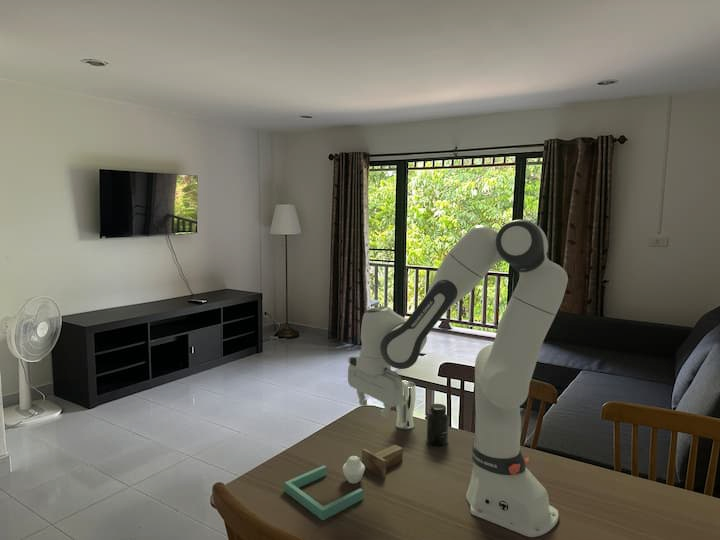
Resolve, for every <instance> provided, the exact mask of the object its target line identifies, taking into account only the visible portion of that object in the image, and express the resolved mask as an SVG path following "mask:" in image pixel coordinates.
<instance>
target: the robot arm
mask: <svg viewBox="0 0 720 540" xmlns="http://www.w3.org/2000/svg"><path fill="white" fill-rule="evenodd" d="M549 253H550V241H549V238H548V236H547V235H546V234H545V232H544V230H543V229H542V228H541V227H540V226H538V225H537V224H535V223H533V222H531V221H529V220H527V219H515V220H511V221H509V222H506V223H505V224H503V226H502V227H501V228H500V229H499V230H498V231H496V230H495V229H493V228H491V227H490V226H488V225H482V224H478V225H475V226H472V227H471V228H470V229H469V230H468V231H466V233H464V234H463V236H461V238H459V239H458V241H457V242H456V243H455V244H454V245H453V246H452V248H451V249H450V250H449V252H448V253H447V254H446V255H445V257H444V259H443V260H442V261H441V263H440V265H439V266H438V268H437V271H436V273H435V274H434V276H433V279H432V281H431V284H430V285H429V287H428V290H427V292H426V294H425V296H424V298H423V299H422V300H421V302H420V303H419V304H418V306H417V307H416V308H415V309H414V310H413V312H412V313H411V315H409V317H408V318H406V317H404V316H402V315H400V314H398V313H397V312H395V311H394V310H393V309H392V308H391V307H390V306H389V307H388V306H383V305H382V306H375V307H374V306H373V307H372V308H369V309H367V310H366V311H365V312H364V313H363V316H362V319H361V328H360V341H361V347H360V350H359V354H355V355H352V356H349V357H348V369H347V382H348V385H349V387H350V388H353V389H355V390H356V394H357V397H358V400H359V401H358V405H360V406H362V407H365V406H367V405H368V399H367V398H366V395H368V397H369V396H370V397H371V398H373V399H374V400H377V401H379V402H381V403H383V407H384V408H383V409H380V416H381V417H383V418H384V419H385V418H388V417H389V415H390V410H391V409H392V408H394V407H395V408H396V406H399V405H401V404H402V402H403V387H402V381H403V380H402V377H401V376H400V375H399V373H398V372H397V371H394V370H392V368H394V369H399V370H405V369H408V368H410V367H413V366H414V365H415V364H416V363H417V361H418V359H419V356H420V354H421V352H422V351H423V349H424V347H425V345H426V343H427V340H428V337H427V336H428V334H429V333H430V332H431V331H432V330H433V328H434V327H435V326H436V324H437V323H438V322H439V321H440V320H441V318H442V317H443V315H445V314H446V313H447V312H448V311H449V310H450V309H451V308H452V307H453V306H454V305H456V304H457V303H458V302H459V301H461V300H462V299H463V298H465V297H466V296H467V295H468V294H469V293H470V292H472V291H473V290H474V289H475V288H476V287H477V286H478V285H479V284H480V282H481V281H482V280H483V279H484V278H485V276H486V275H488V273H489V271H490V270H492V268H494V266H495V265H496V264H498V263H500V262H506V263H507V264H508V265H510V267H512V268H513V269H514V270H515V271H516V272H518V273H519V278H518V281H517V284H516V286H515V288H514V291H513V293H512V294H511V296H510V299H509V301H508V303H507V306H506V307H505V310H504V312H503V313H502V316H501V318H500V321H499V322H498V324H497V330H496V335H495V337H494V340H493V343H492V344H490V345H486V346H485V347H483V348H482V349H480V350H479V351H478V353H477V356H476V358H475V365H474V403H475V408H474V409H475V420H474V421H475V424H474V425H475V426H474V442H473V444H472V455H471V459H472V462H473V463H472V471H471V476H470V481H469V486H468V488H467V491H466V494H465V498H466V501H467V502H468V504H469V506H470V513H471V515H472V516H476V517H477V518H480V519H483V520H485V521H487V522H490V523H493V524H494V525H495V524H496V525H498V526H500V527H503V528H506V529H507V530H510V531H512V532H516V533H518V534H520V535H522V536H525V537H528V538H536V537H540V536H543V535H544V534H545V535H546V534H547V533H548V532H550V531H551V530H552V529H553V528H554V527H556V525H557V523H558V522H559V510H558V509H557V508H555V507H554V506H553V505H550V501H549V500H550V499H549V495H548V491H547V489H546V488H545V487H544V486H543V484H541V482H539V480H538V479H537V478H536V476H535V475H533V473H532V472H531V471H530V470H529V469H528V468H527V467H526V466H527V465H526V464H528V462H529V461H530V460H529V459H530V456H527V457H526V458H524V456H523V453H522V451H521V432H522V431H521V429H522V418H521V409H520V406H522V405H523V404H524V403H526V400H527V398H528V396H529V393H530V392H529V391H530V384H531V380H532V378H533V375H534V371H535V369H536V366H537V361H538V358H539V355H540V351H541V348H542V345H543V343H544V340H545V338H546V336H547V334H548V332H549V329H550V328H551V326H552V324H553V323H554V320H555V318H556V315H557V313H558V311H559V309H560V307H561V305H562V302H563V299H564V296H565V293H566V289H567V285H568V282H569V277H568V273H567V271H566V270H565V269H564V268H563V267H562V265H561V266H560V264H557V263H555V262H554V261H551V260H550V258H548V255H549Z"/></svg>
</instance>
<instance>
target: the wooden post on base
mask: <svg viewBox="0 0 720 540" xmlns="http://www.w3.org/2000/svg"><path fill="white" fill-rule="evenodd" d="M361 451H362V452H361V463H363V464H364V466H365V469H368V470H370V471H371V470H372V471H371V472H373V473H375V474H377V475H378V476H380V477H382V478H386V477H387V469H389V468H391V467H392V466H394V465H396V464H398V463H400V462H402V461H403V451H404V450H403V447H401V446H400V445H397V444H393V445H391V446H389V447H386V448H385V449H383V450H380V451H378V452H376V453H374V452H372V451H370V450H368V449H366V448H364V447H363V448H362V449H361Z"/></svg>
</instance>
